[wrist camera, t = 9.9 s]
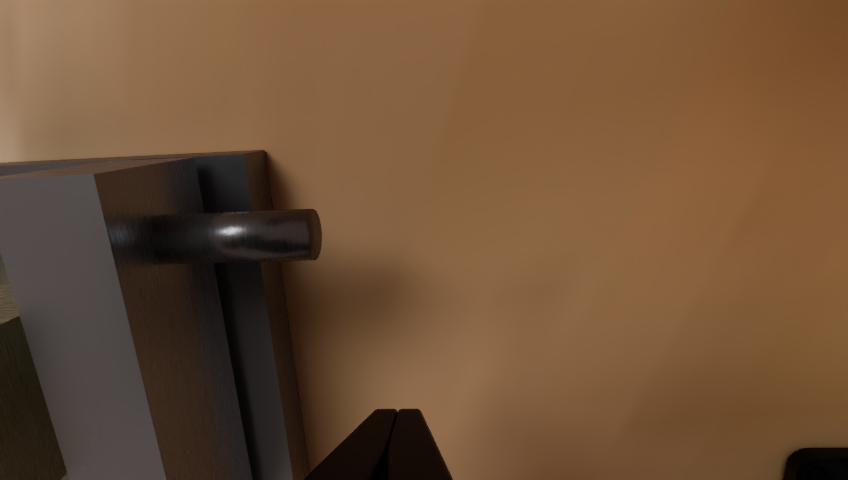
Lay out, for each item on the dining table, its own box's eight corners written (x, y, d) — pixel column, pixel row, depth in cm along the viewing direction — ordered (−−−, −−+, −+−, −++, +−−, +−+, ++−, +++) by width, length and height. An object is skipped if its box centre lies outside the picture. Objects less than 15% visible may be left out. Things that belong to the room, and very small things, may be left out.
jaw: (326, 150, 10) (275, 165, 7) (365, 519, 13) (339, 638, 10) (109, 160, 10) (-22, 179, 8) (190, 517, 13) (116, 632, 10)
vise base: (264, 149, 12) (149, 171, 7) (310, 477, 14) (246, 641, 10) (-165, 170, 13) (-502, 201, 8) (-48, 476, 15) (-254, 625, 11)
